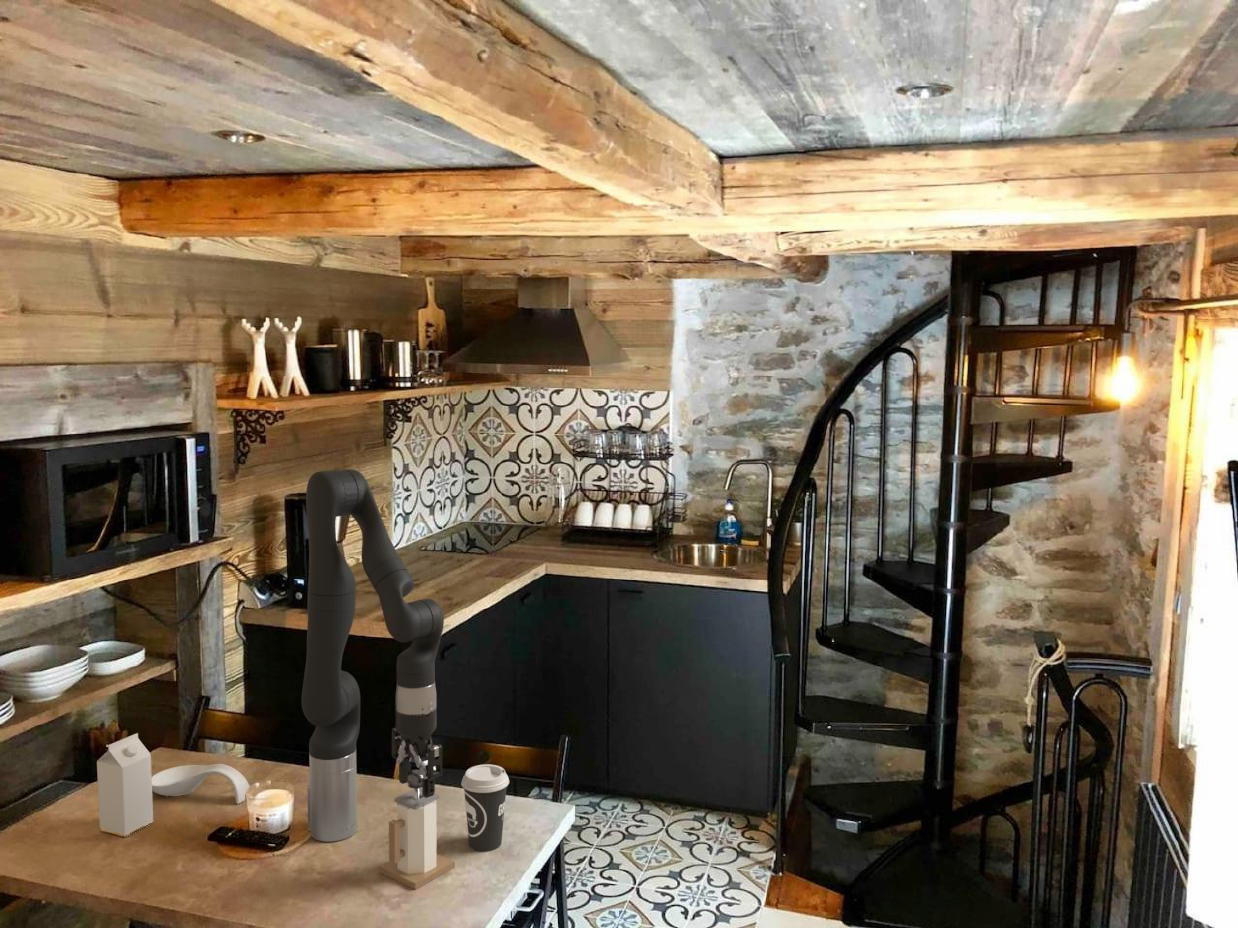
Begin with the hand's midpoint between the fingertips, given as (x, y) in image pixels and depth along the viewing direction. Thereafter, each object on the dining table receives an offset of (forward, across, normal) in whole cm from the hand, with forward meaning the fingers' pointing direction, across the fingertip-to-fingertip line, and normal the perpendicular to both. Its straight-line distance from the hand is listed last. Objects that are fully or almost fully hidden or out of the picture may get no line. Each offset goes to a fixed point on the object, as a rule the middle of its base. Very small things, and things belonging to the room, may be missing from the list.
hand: (416, 788), depth 188 cm
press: (+16, 0, 0) cm, 16 cm away
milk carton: (+16, -55, -35) cm, 67 cm away
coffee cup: (+16, 0, +16) cm, 23 cm away
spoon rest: (+17, -61, -18) cm, 66 cm away
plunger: (+10, 0, 0) cm, 10 cm away
